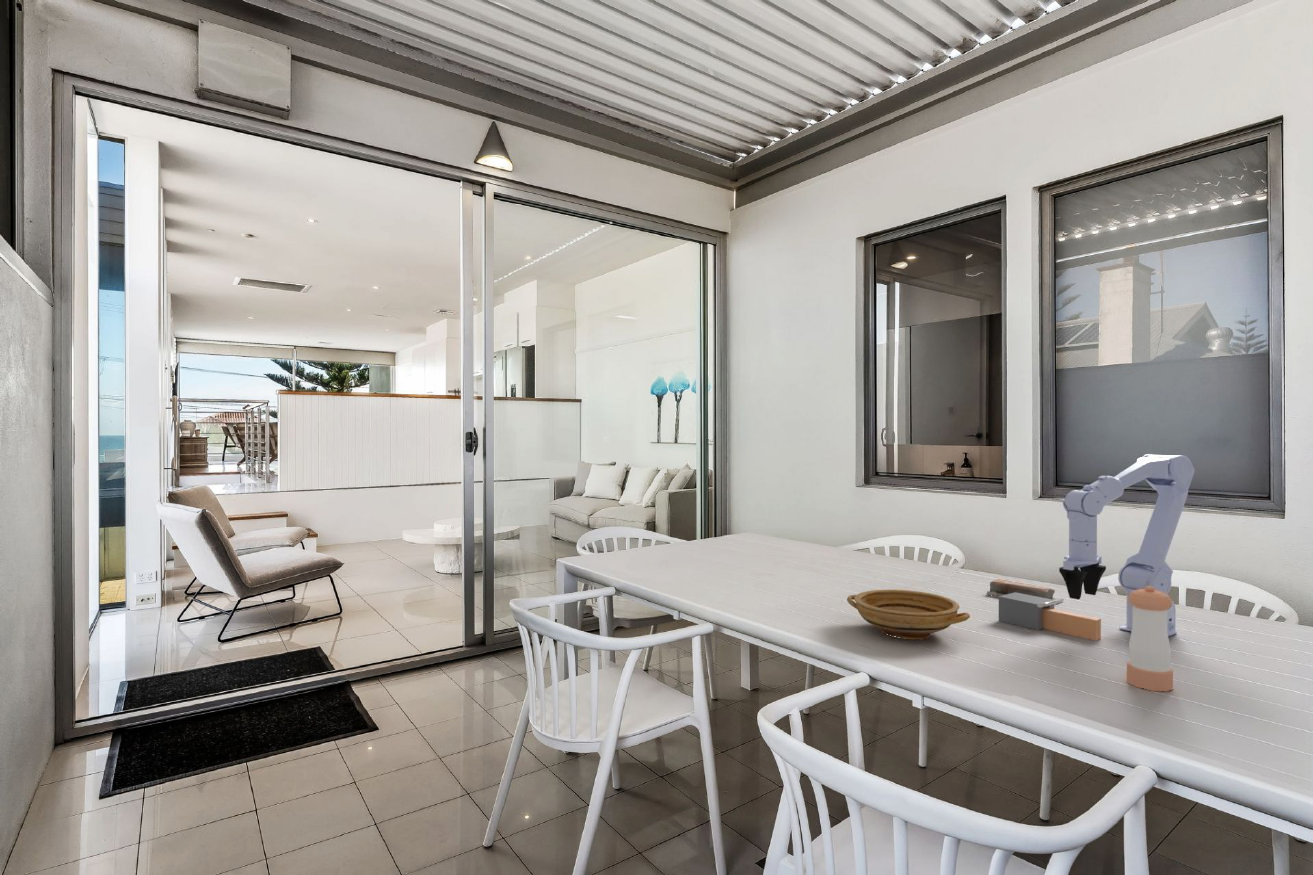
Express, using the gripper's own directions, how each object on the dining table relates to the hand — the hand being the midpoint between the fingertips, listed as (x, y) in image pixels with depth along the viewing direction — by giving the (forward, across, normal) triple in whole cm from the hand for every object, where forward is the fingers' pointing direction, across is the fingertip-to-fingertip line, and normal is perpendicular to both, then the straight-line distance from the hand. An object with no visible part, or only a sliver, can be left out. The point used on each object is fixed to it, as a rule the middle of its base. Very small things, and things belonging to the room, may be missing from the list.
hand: (1082, 596), depth 164 cm
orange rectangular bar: (+10, 0, -4) cm, 11 cm away
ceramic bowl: (+10, +34, -25) cm, 43 cm away
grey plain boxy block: (+9, +1, -13) cm, 16 cm away
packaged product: (+10, -24, -27) cm, 38 cm away
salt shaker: (+10, +23, +23) cm, 34 cm away
